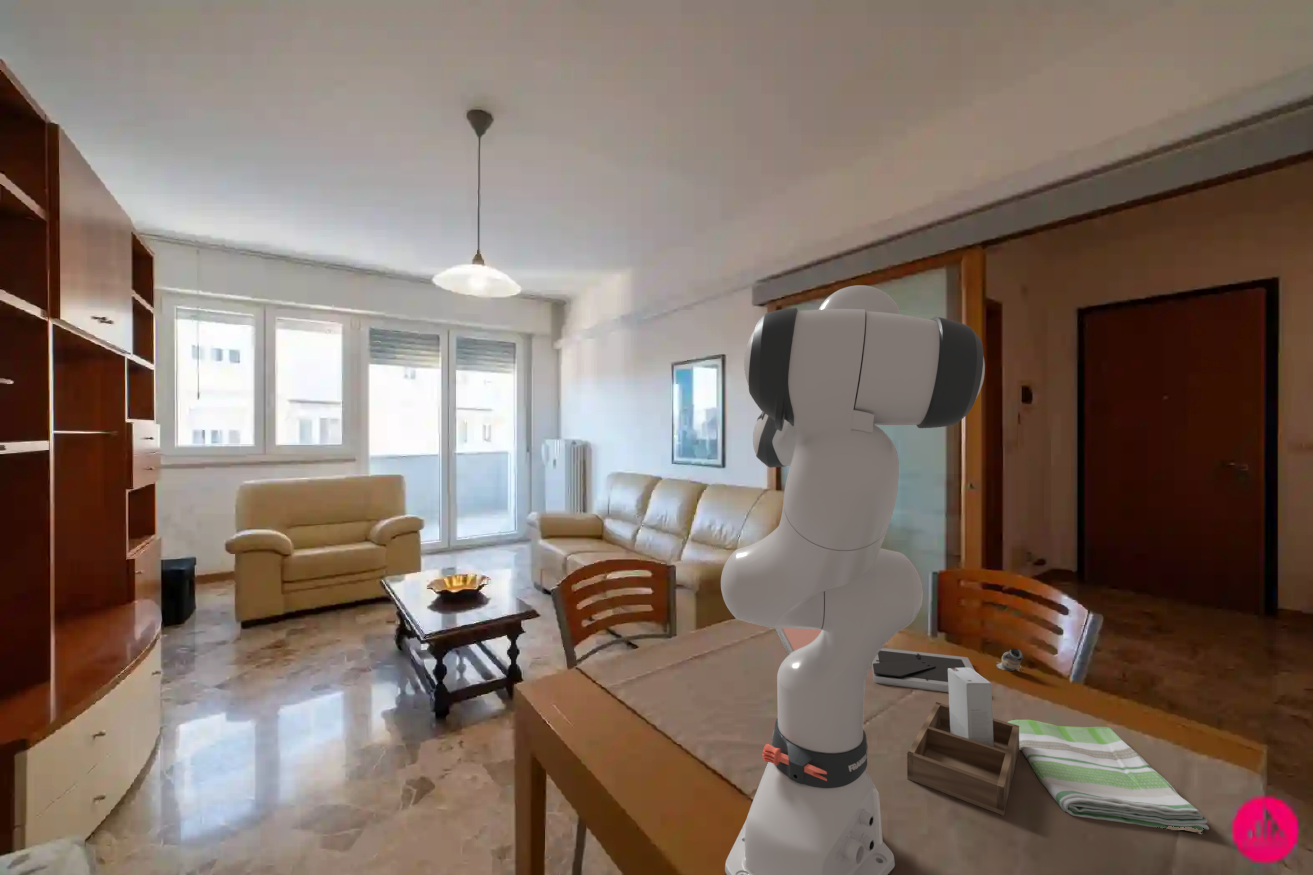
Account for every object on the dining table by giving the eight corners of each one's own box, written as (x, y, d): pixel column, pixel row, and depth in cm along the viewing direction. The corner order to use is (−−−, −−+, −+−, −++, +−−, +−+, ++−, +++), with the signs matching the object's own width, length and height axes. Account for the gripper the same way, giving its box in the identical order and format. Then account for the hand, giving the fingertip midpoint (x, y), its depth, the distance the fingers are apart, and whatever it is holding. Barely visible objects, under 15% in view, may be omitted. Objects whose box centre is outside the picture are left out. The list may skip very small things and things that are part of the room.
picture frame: (874, 685, 113) (986, 700, 106) (874, 672, 113) (985, 686, 106) (870, 655, 128) (967, 666, 121) (869, 643, 128) (967, 654, 121)
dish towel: (1061, 817, 75) (1061, 793, 74) (1002, 727, 97) (1002, 708, 97) (1213, 841, 70) (1213, 814, 70) (1115, 740, 92) (1115, 720, 92)
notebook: (770, 622, 150) (770, 615, 150) (831, 621, 150) (831, 614, 150) (791, 665, 123) (791, 656, 123) (865, 665, 122) (865, 656, 122)
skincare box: (995, 757, 86) (995, 683, 86) (967, 757, 86) (967, 683, 86) (973, 735, 92) (972, 666, 92) (947, 735, 92) (946, 666, 92)
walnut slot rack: (1003, 815, 74) (1003, 787, 74) (907, 778, 82) (907, 753, 82) (1019, 749, 89) (1019, 725, 89) (936, 723, 97) (936, 701, 97)
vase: (1032, 680, 113) (1029, 652, 113) (1002, 679, 115) (1000, 651, 114) (1023, 668, 118) (1020, 642, 118) (995, 667, 120) (992, 641, 120)
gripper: (820, 486, 89) (821, 568, 89) (861, 476, 105) (862, 546, 105) (785, 484, 93) (786, 562, 93) (830, 474, 109) (831, 542, 109)
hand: (827, 553), depth 99 cm, fingers open, 8 cm apart
